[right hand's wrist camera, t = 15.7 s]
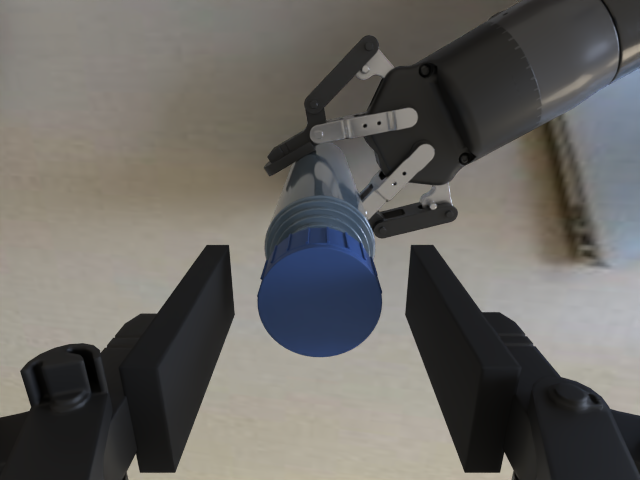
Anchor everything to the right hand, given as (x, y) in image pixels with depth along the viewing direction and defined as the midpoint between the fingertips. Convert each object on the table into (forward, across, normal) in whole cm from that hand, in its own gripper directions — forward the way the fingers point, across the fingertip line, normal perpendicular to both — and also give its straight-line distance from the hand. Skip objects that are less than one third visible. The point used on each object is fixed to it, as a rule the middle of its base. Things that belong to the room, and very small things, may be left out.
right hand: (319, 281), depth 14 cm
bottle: (+22, 0, 0) cm, 22 cm away
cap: (-1, 0, 0) cm, 1 cm away
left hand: (+16, -2, -1) cm, 16 cm away
